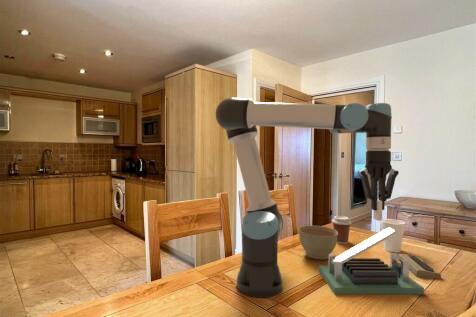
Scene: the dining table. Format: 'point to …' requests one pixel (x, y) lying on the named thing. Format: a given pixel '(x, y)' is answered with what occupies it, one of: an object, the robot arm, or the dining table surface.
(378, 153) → the robot arm
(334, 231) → the planter bowl
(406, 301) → the dining table surface
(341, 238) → the coffee cup
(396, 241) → the foam cup
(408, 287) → the circuit board
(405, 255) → the computer
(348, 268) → the heat sink mount
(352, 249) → the steel strap
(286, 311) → the dining table surface
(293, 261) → the dining table surface
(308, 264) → the dining table surface
